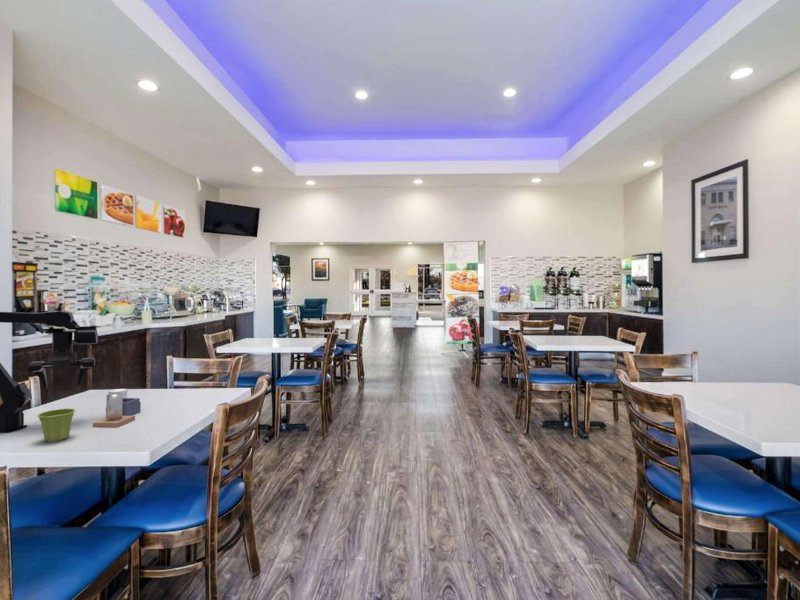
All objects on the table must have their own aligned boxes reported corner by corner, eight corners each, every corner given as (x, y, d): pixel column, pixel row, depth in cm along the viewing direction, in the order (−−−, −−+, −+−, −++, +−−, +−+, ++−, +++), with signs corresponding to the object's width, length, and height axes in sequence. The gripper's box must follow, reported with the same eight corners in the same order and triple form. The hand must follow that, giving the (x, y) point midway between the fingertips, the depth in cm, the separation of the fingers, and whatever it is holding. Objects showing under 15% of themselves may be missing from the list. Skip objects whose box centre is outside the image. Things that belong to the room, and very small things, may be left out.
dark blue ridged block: (125, 417, 156) (125, 403, 156) (106, 417, 156) (106, 402, 156) (140, 411, 164) (140, 398, 164) (121, 411, 164) (121, 397, 164)
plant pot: (73, 440, 131) (73, 413, 131) (34, 446, 126) (34, 418, 126) (77, 432, 139) (77, 407, 139) (41, 437, 134) (40, 411, 134)
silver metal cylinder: (111, 421, 146) (111, 396, 146) (103, 419, 148) (103, 395, 148) (125, 418, 150) (125, 393, 150) (117, 416, 152) (117, 392, 152)
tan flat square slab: (116, 427, 144) (116, 423, 144) (92, 426, 145) (92, 422, 145) (135, 419, 153) (134, 415, 153) (112, 419, 154) (112, 415, 154)
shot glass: (116, 409, 167) (115, 392, 167) (104, 408, 170) (104, 391, 170) (131, 405, 174) (131, 388, 174) (120, 403, 176) (120, 387, 176)
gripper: (23, 349, 137) (24, 395, 137) (93, 345, 147) (93, 388, 148) (30, 346, 146) (30, 389, 146) (94, 342, 157) (95, 383, 157)
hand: (62, 387), depth 149 cm, fingers open, 9 cm apart
